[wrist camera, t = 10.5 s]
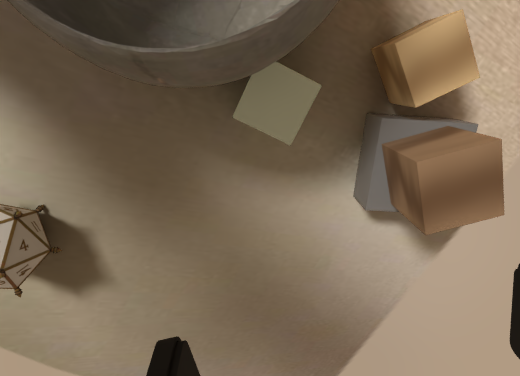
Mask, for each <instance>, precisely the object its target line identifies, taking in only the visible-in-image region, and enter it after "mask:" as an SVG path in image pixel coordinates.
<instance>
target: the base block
mask: <svg viewBox="0 0 520 376" xmlns="http://www.w3.org/2000/svg"><path fill="white" fill-rule="evenodd" d="M445 126H451V127H455V128H459V129H463V130H467V131H471V132H475V133H476V131H477V127H478V124H475V123H470V122H465V121H461V120H456V119H448V118H432V117H416V116H401V115H385V114H369V113H367V115H366V121H365V127H364V133H363V139H362V146H361V152H360V158H359V164H358V170H357V176H356V182H355V188H354V195H353V196H354V197H355V199H356V200H357V201H358V202H359V203H360V204H361V206H362V207H363V208H364V209H365V210H370V211H391V212H399V211H398V210H397V209H396V208H395V207H394V206H393V205H392V204H391V201H390V194H389V188H388V182H387V175H386V169H385V163H384V156H383V150H382V144H384V143H387V142H391V141H395V140H398V139H402V138H405V137H409V136H413V135H416V134H420V133H424V132H427V131H431V130H435V129H438V128H442V127H445Z"/></svg>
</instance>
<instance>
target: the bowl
mask: <svg viewBox="0 0 520 376" xmlns="http://www.w3.org/2000/svg"><path fill="white" fill-rule="evenodd" d="M8 1H9V2H10V3H11V4H12V5H13V6H14V7H15V8H16V9H17V10H18V11H19V12H20V13H21V14H22V15H23V16H25V17H26V18H27V19H28V20H29V21H30V22H31V23H33V24H34V25H35V26H36V27H37V28H39V29H40V30H41V31H43V32H44V33H45V34H47V35H48V36H49V37H51V38H52V39H54V40H55V41H56V42H58V43H59V44H60V45H62V46H63V47H65V48H67V49H68V50H70V51H72V52H73V53H75V54H77V55H78V56H80V57H82V58H84V59H86V60H88V61H90V62H91V63H93V64H95V65H97V66H99V67H101V68H103V69H105V70H108V71H110V72H113V73H115V74H118V75H121V76H123V77H126V78H128V79H131V80H135V81H138V82H142V83H146V84H150V85H155V86H165V87H176V88H189V87H209V86H215V85H221V84H226V83H229V82H233V81H236V80H240V79H242V78H245V77H248V76H250V75H253V74H255V73H257V72H259V71H261V70H262V69H264V68H266V67H267V66H269V65H271V64H272V63H274V62H276V61H277V60H279V59H281V58H282V57H284V56H286V55H287V54H288V53H289V52H290V51H292V50H293V49H294V48H295V47H297V46H298V45H299V44H300V43H302V42H303V41H304V40H305V39H306V38H307V37H308V36H309V35H310V34H311V33H312V32H313V31H314V30H315V29H316V28H317V27H318V26H319V25H320V24H321V23H322V22H323V21H324V19H325V18H326V17H327V16H328V15H329V13H330V12H331V11H332V9H333V8H334V6H335V5H336V4H337V2H338V1H339V0H8Z"/></svg>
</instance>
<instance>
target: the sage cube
mask: <svg viewBox="0 0 520 376" xmlns="http://www.w3.org/2000/svg"><path fill="white" fill-rule="evenodd" d="M321 86H322V85H320V84H318V83H316V82H314V81H313V80H311V79H309V78H307V77H305V76H303V75H301V74H299V73H297V72H296V71H294V70H292V69H290V68H288V67H286V66H284V65H282V64H280V63H278V62H277V61H276V62H274V63H272V64H271V65H269V66H267V67H266V68H264V69H262V70H261V71H259V72H257V73H255V74H253V75H251V77H250V79H249V81H248V83H247V85H246V88H245V90H244V92H243V94H242V97H241V99H240V101H239V103H238V105H237V108H236V110H235V112H234V114H233V117H232V118H234V119H236V120H238V121H240V122H242V123H244V124H247V125H249V126H251V127H253V128H255V129H257V130H259V131H261V132H263V133H265V134H267V135H269V136H271V137H273V138H275V139H278V140H280V141H282V142H284V143H286V144H288V145H290V146H291V144H292V142H293V140H294V138H295V136H296V134H297V133H298V131H299V129H300V127H301V125H302V123H303V121H304V119H305V117H306V115H307V113H308V111H309V109H310V108H311V106H312V104H313V102H314V100H315V98H316V96H317V94H318V92H319V90H320V88H321Z"/></svg>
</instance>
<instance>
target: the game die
mask: <svg viewBox="0 0 520 376" xmlns="http://www.w3.org/2000/svg"><path fill="white" fill-rule="evenodd" d="M43 207H44V205H41V206H38V207H37V208H36V210H29V209H24V208H18V207H13V206H7V205H2V204H0V288H1V289H15V292H14V293H15V295H17V296H19V297H21V294H22V292H23V291H21V289H20V288H19V286H20V285H21V284H22V283H23V282H24V281H25V280H26V278H27V277H28V276H29V275H30V274H31V273H32V272H33V271H34V269H35V268H36V267H37V266H38V265H39V264H40V263H41V262H42V260H43V259H44V258H45V257H46V256H47V255H48V254H49V253H50V252H53V253H54V252H55V253H58V252H60V251H62V250H61V249H59V248H58V247H54V248H51V246H50V243H49V241H48V238H47V235H46V233H45V230H44V228H43V225H42V223H41V220H40V217H39V215H38V212H41V211H42V210H43Z"/></svg>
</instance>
